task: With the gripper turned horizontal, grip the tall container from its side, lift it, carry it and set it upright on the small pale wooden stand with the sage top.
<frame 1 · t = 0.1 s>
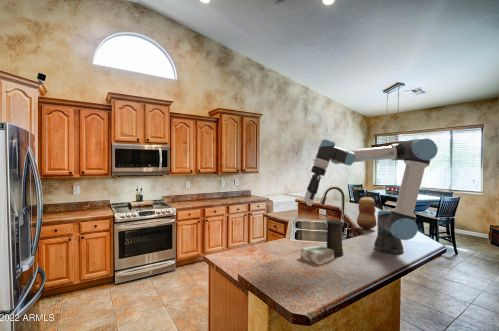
hand: (307, 203, 140), 28 cm above the counter, tool tilted 20°, fingers open, 13 cm apart
stand: (317, 258, 133), on the counter
container: (334, 254, 140), on the counter
butternut squash: (366, 229, 198), on the counter
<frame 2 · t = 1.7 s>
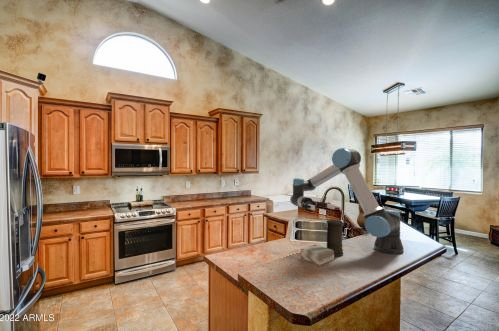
hand: (324, 207, 150), 24 cm above the counter, tool horizontal, fingers open, 13 cm apart
nothing on the counter moved.
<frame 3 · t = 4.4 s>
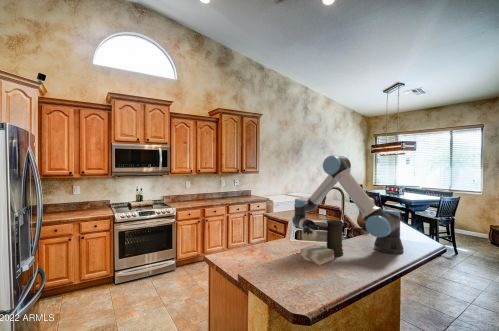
hand: (326, 232, 147), 10 cm above the counter, tool horizontal, fingers open, 13 cm apart
nothing on the counter moved.
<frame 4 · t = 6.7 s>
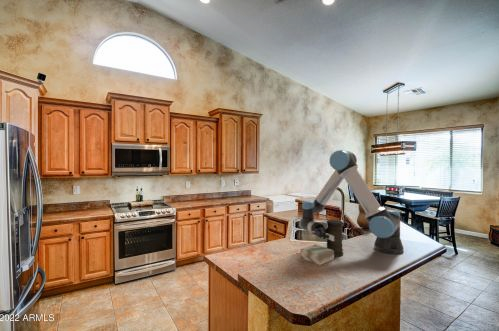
hand: (340, 238, 136), 10 cm above the counter, tool horizontal, fingers closed on container, 8 cm apart
container: (334, 254, 140), on the counter, touching gripper
everything else where it was.
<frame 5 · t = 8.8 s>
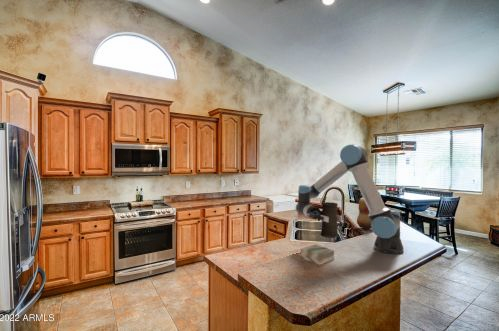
hand: (334, 219, 135), 20 cm above the counter, tool horizontal, fingers closed on container, 8 cm apart
container: (329, 236, 139), point 10 cm above the counter, touching gripper
everything else where it was.
when the fingers open (16 cm above the counter, at t = 10.7 s): container drops 1 cm, resting on stand.
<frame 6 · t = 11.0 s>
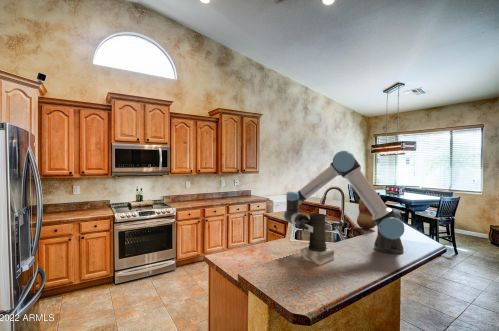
hand: (322, 228, 129), 16 cm above the counter, tool horizontal, fingers open, 10 cm apart
container: (317, 249, 133), point 5 cm above the counter, touching stand
everything else where it was.
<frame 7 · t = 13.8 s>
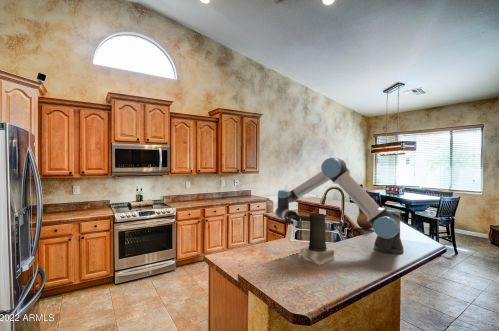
hand: (307, 223, 142), 17 cm above the counter, tool horizontal, fingers open, 13 cm apart
nothing on the counter moved.
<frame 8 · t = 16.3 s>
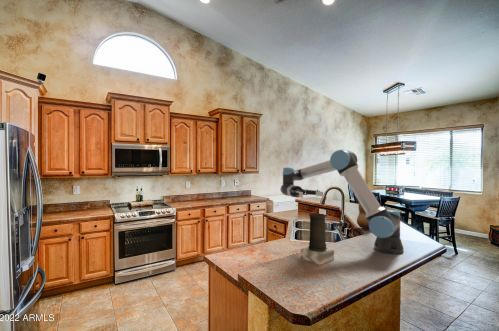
hand: (312, 194, 148), 32 cm above the counter, tool horizontal, fingers open, 13 cm apart
nothing on the counter moved.
at the end: container inside the target area on the stand (0.1 cm from its centre), point 4.8 cm above the stand's base; container tilted 0°; the gripper is holding nothing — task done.
